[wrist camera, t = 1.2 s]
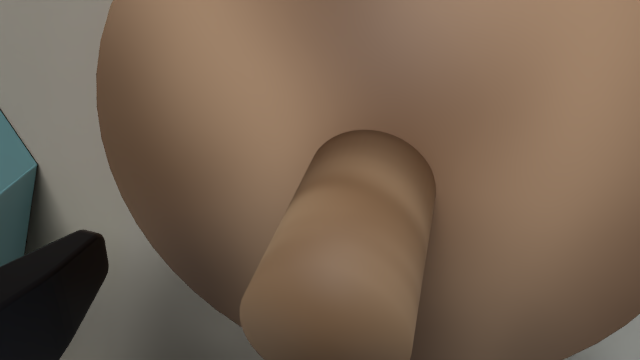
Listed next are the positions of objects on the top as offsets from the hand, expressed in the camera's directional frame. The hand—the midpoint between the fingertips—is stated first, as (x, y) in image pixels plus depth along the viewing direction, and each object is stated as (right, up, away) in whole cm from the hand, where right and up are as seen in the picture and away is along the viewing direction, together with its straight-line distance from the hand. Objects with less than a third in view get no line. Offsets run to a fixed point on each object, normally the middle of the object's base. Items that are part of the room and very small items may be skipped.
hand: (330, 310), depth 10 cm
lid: (+1, +3, +4) cm, 5 cm away
